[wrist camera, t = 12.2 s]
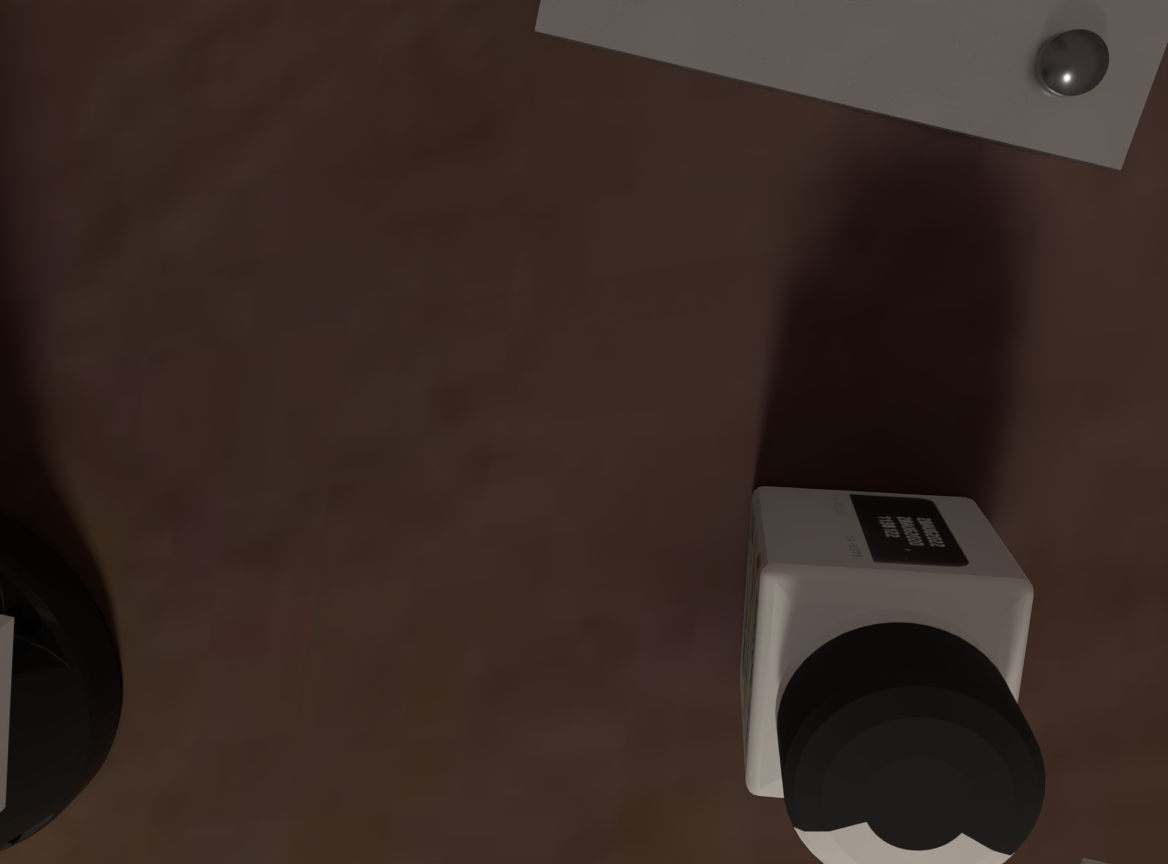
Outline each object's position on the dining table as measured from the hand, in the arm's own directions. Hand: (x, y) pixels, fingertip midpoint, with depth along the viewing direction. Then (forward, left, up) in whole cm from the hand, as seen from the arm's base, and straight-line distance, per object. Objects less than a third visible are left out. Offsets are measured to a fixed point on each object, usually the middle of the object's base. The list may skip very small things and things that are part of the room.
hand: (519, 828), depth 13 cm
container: (+9, -6, -26) cm, 29 cm away
